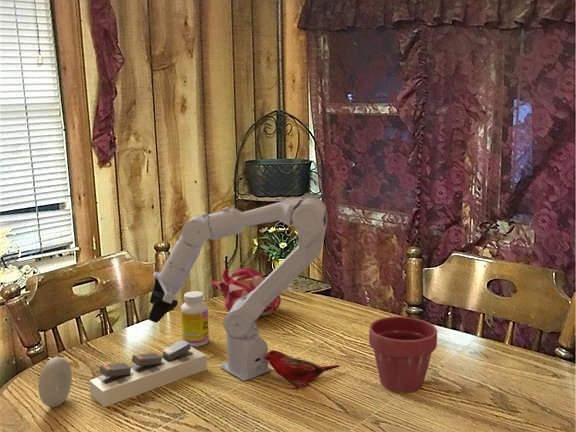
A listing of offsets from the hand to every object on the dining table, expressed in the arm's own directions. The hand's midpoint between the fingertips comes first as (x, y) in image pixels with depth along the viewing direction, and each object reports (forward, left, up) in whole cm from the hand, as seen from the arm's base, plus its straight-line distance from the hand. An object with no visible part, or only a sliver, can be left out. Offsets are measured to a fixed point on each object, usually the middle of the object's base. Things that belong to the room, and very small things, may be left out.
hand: (153, 311), depth 143 cm
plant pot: (-45, -35, -13) cm, 58 cm away
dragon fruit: (+11, -35, -13) cm, 39 cm away
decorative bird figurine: (-33, -18, -13) cm, 40 cm away
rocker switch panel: (-7, +5, -13) cm, 16 cm away
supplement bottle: (+4, -14, -13) cm, 19 cm away
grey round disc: (-3, +24, -13) cm, 28 cm away
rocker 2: (-6, +5, -8) cm, 11 cm away
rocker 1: (-6, +13, -8) cm, 16 cm away
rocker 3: (-6, -2, -8) cm, 10 cm away
